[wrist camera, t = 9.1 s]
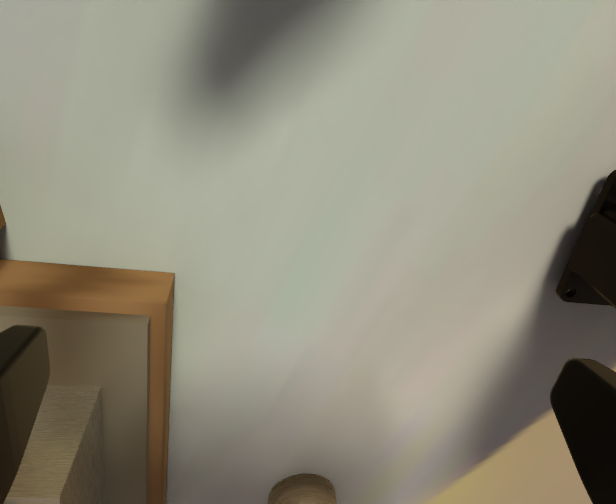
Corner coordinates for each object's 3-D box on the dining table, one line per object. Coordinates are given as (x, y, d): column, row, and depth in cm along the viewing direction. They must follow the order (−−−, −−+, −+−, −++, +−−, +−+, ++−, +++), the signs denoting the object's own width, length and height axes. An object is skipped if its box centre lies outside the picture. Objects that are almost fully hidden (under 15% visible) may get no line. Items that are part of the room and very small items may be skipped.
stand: (174, 273, 21) (163, 312, 19) (165, 507, 29) (156, 560, 26) (-81, 252, 20) (-131, 293, 17) (-21, 506, 27) (-51, 562, 24)
